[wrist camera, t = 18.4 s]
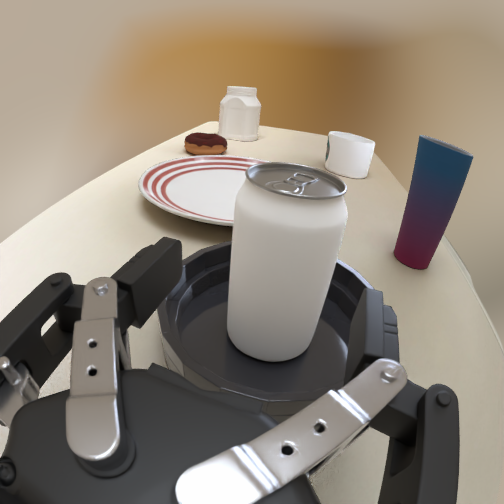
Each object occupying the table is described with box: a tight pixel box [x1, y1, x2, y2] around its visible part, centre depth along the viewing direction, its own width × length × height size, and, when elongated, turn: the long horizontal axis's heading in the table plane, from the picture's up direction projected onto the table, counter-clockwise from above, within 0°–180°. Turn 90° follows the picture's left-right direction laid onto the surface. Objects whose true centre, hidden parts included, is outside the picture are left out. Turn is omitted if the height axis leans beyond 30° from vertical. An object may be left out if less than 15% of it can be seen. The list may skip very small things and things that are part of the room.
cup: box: [394, 135, 473, 269], centre depth 31 cm, size 7×7×15 cm
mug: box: [325, 131, 375, 179], centre depth 64 cm, size 13×10×8 cm
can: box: [227, 162, 348, 362], centre depth 19 cm, size 6×6×12 cm
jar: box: [218, 86, 261, 141], centre depth 80 cm, size 12×10×15 cm
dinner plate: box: [138, 155, 270, 226], centre depth 44 cm, size 27×27×3 cm
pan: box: [157, 241, 375, 424], centre depth 22 cm, size 16×16×4 cm
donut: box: [184, 133, 227, 155], centre depth 66 cm, size 10×10×4 cm
